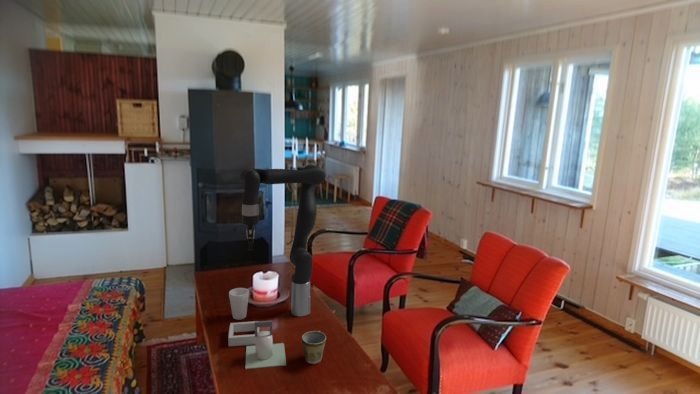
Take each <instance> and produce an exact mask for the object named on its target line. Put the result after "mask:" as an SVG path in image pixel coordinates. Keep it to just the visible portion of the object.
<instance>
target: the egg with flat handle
mask: <svg viewBox="0 0 700 394" xmlns="http://www.w3.org/2000/svg"><path fill="white" fill-rule="evenodd" d="M257 321H258V322H255V331H254V334H255V344H254V345H255V348H256V358H257V359H259V360H266V359H269V358H271V357H272V356H273V344H274V341H273V339H274V338H273V320H260V321H259V320H257ZM257 327H259V328H266V327H269V331H268V330H261V331H259V332H257Z"/></svg>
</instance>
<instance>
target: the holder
mask: <svg viewBox="0 0 700 394" xmlns="http://www.w3.org/2000/svg"><path fill="white" fill-rule="evenodd" d="M258 321H259V320H256V321H255V320H254V321H241V322H229V323H230V324H229V328H228V329H229V330H228V338H227V339H228V344H227V345H228V347H237V346H239V347H240V346H241V347H242V346H254V345H255V333H253V334H241V335H235V334H234V333H245V332H255V322H258ZM257 332H260V327H257Z"/></svg>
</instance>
